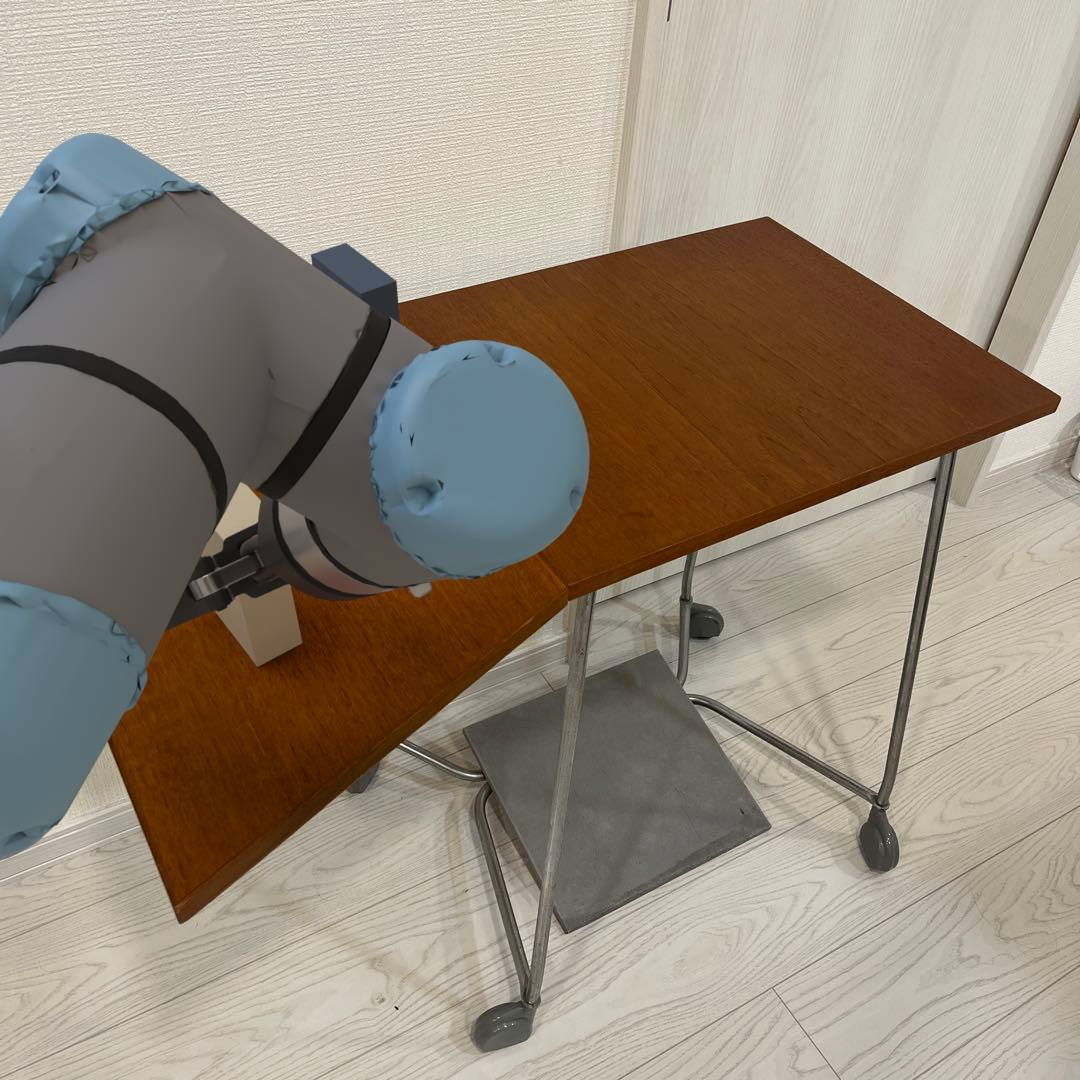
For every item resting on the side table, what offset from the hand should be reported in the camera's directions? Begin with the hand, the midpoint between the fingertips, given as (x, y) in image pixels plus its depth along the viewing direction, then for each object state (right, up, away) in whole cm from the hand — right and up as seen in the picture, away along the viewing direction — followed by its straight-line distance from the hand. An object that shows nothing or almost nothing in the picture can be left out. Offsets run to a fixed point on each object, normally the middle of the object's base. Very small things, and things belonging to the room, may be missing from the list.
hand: (256, 559), depth 64 cm
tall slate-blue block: (+2, +15, +29) cm, 33 cm away
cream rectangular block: (-2, -5, +8) cm, 10 cm away
